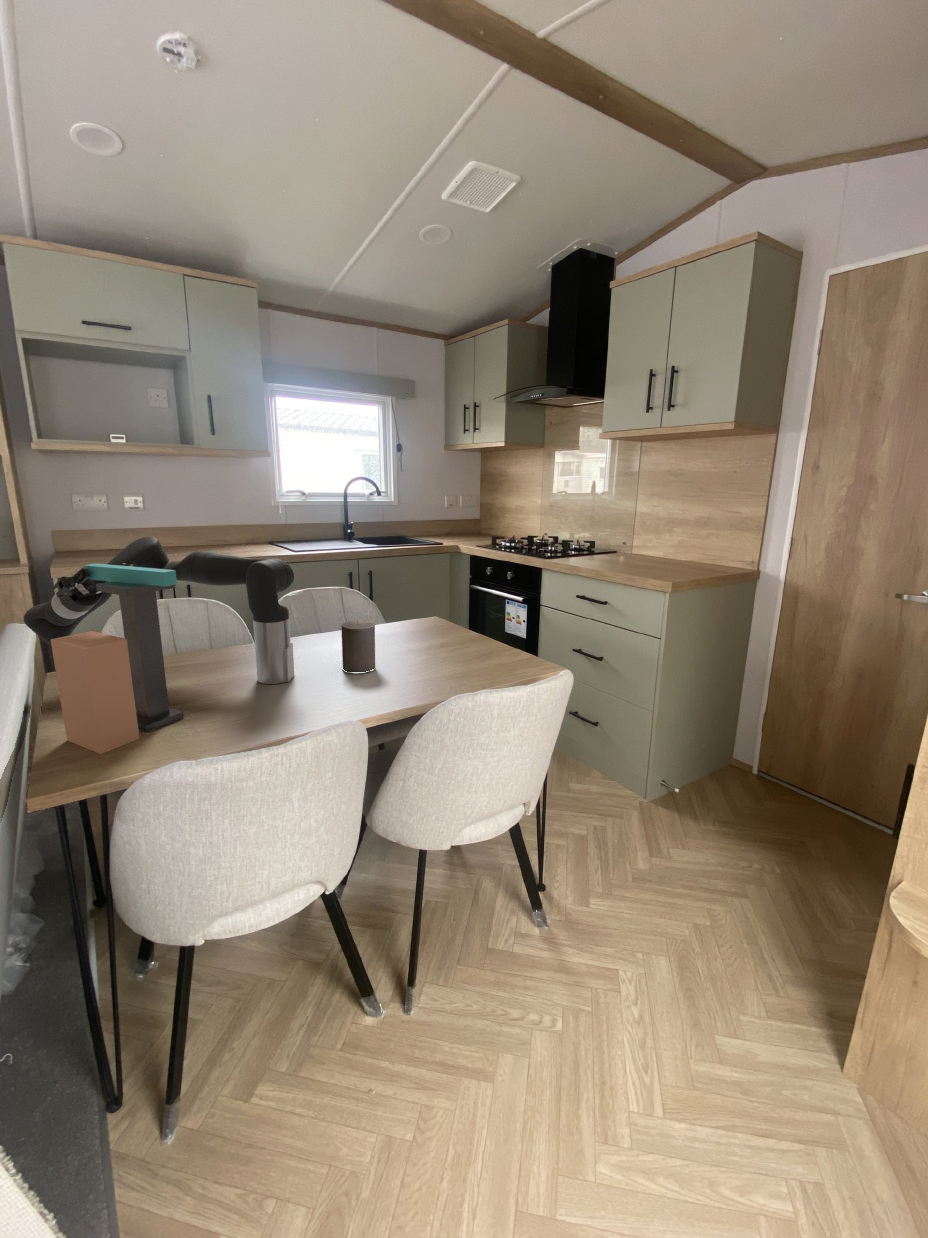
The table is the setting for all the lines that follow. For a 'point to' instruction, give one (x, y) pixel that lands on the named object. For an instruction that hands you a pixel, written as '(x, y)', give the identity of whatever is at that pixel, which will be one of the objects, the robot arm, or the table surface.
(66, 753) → the table surface
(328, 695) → the table surface
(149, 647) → the stand
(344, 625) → the pillar candle
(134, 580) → the teal bar
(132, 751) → the table surface
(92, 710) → the base block
